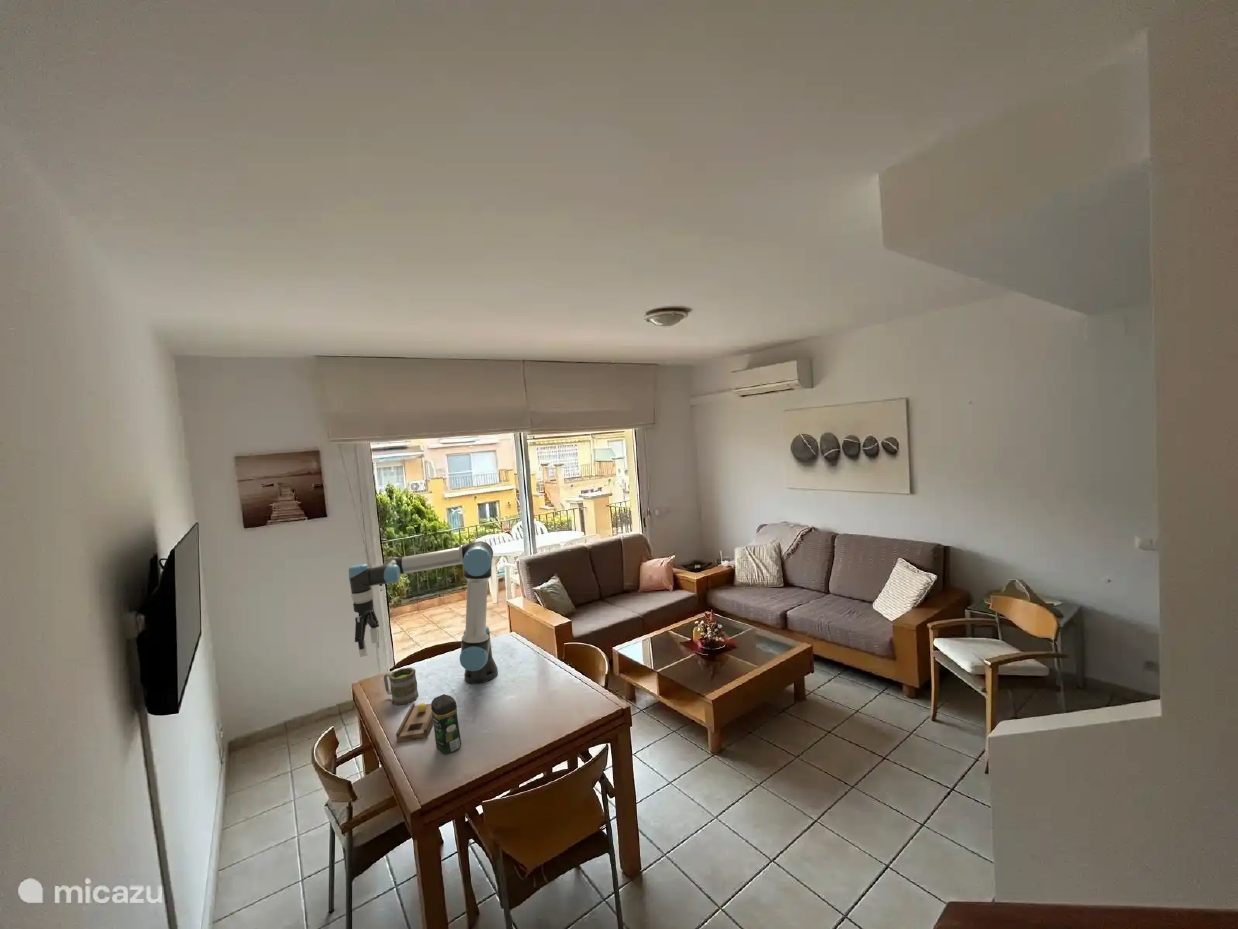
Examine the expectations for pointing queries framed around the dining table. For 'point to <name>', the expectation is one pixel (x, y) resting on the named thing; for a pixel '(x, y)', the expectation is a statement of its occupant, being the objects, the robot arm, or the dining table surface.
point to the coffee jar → (446, 724)
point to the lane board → (415, 724)
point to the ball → (421, 707)
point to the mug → (402, 686)
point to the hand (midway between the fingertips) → (369, 649)
